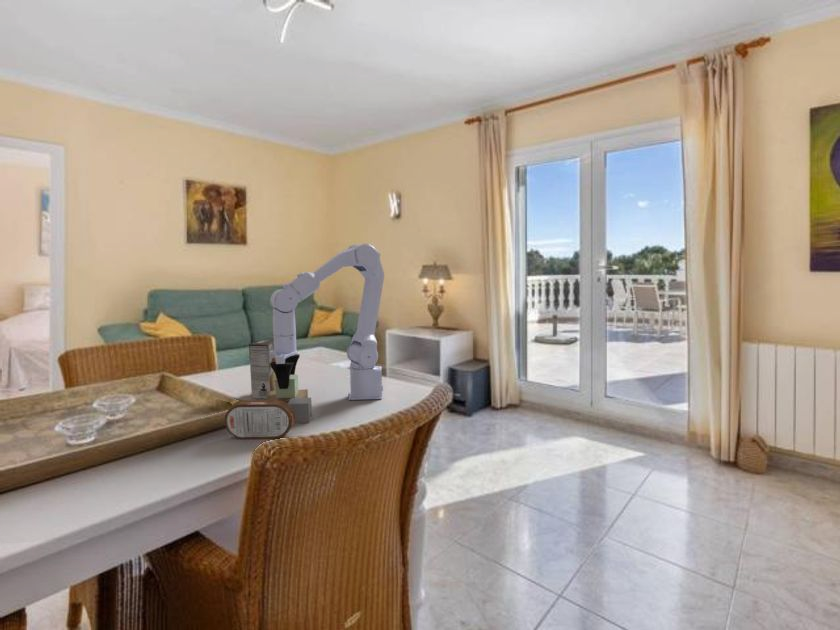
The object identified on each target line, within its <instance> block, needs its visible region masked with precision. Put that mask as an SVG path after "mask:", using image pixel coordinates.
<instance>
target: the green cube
mask: <svg viewBox="0 0 840 630" xmlns="http://www.w3.org/2000/svg"><path fill="white" fill-rule="evenodd" d="M298 390H299V375H298V374H295V375H290V379H289V386H288V389H279V386H278V382H277V378H276V379H275V391H276V398H295V397H296V395H297V394H298Z"/></svg>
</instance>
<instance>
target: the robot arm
mask: <svg viewBox="0 0 840 630" xmlns="http://www.w3.org/2000/svg"><path fill="white" fill-rule="evenodd" d="M345 267H346V268H347V267H352V268H354V269H355V270H357V271H358V272H359V273H360V274H361V276H362V277H363V278H364V282H363V283H364V285H363V289H362V296H361V301H360V309H359V314H358V321H357V327H356V332H355V333H354V334H353V336H352V338H351V342H350V344H349V345H348V346H347V349H346V355H347V356H346V357H347V359H348V360H349V361H350V364H349V371H350V372H349V373H350V374H349V375H350V376H349V377H350V378H349V379H350V381H349V384H350V391H349V394H348V400H349V401H357V400H360V401H361V400H362V401H363V400H382V399H383V391H384V385H383V380H382V379H383V375H382V373H383V372H382V369H383V367H382V366H381V365H376V364H377V362H378V361H379V360H378V359H379V352H378V341H377V338H376V336H375V333H376V327H377V322H378V318H379V317H378V316H379V310H380V305H381V304H380V303H381V299H382V298H381V297H382V292H383V285H384V280H385V272H384V269H383V265H382V262H381V253H380V252H379V250H377V248H376V247H375V246H374V245H372V244H370V243H363V244H352V245H350V246H349V247H347V248H345V249H343V250H341V251H339V252H338V253H337V254H335V255H334V256H333V257H332V258H330V259H328V261H326V262H325V263H324V264H322V265H321V266H319V267H318V268H317V269H316V270H314V271H313V272H309V271H305V272H299V273H298V274H296V276H297V277H296V278H295V279H293V280H292V281H290V282H289V283H284V284H283V285H282V288H281V289H277V290H275V291H274V292H272V294H271V296H270V299H269V305H270V307H272V315H273V316H272V331H273V339H274V351H270V355H274V356H275V357H276V362H271V363H270V365H271V368H272V369H273V371H274V373H275V375H276V378H277V382H278V386H279V389H288V386H289V379H290V375H296V369H297V368H296V367H297V364H298V361H299V359H300V358H301V357H300V354H299V353H298V350H297V331H296V330H297V329H296V327H297V326H296V313H295V312H296V308H297V306H298V303H301V302H303V301H304V300H305V299H307V298H308V297H310V296H311V295H312V294H313V293H315V292H316V291H318V290H319V288H320V285H321V282H322V281H324V280H326V279H328V278H329V277H330V276H332V275H334V274H335V273H336V272H339V271H340V270H341V269H343V268H345Z"/></svg>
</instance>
